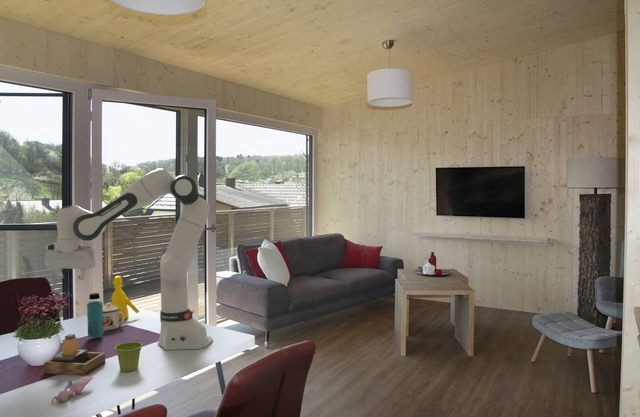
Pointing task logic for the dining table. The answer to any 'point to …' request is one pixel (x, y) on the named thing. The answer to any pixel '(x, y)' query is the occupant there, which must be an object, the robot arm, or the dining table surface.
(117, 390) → the dining table surface
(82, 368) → the crate
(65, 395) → the rabbit figure
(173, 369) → the dining table surface
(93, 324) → the beverage bottle
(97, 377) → the dining table surface
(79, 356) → the socket
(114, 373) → the dining table surface
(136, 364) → the plant pot
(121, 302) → the figure statuette
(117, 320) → the teacup with lid
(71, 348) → the orange square peg
